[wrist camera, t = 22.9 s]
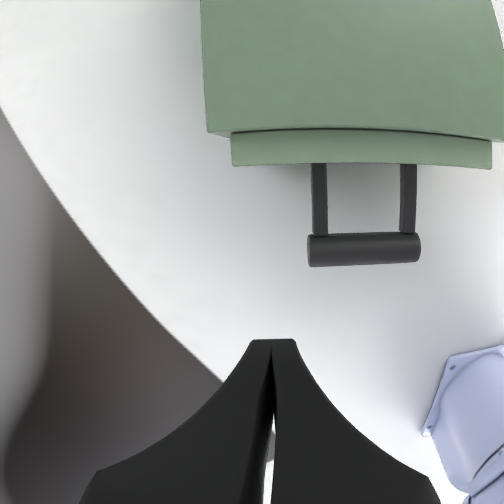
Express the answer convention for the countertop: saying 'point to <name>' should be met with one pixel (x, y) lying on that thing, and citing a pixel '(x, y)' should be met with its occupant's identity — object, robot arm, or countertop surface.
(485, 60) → the cabinet
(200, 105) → the countertop surface
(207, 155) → the countertop surface
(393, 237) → the drawer
